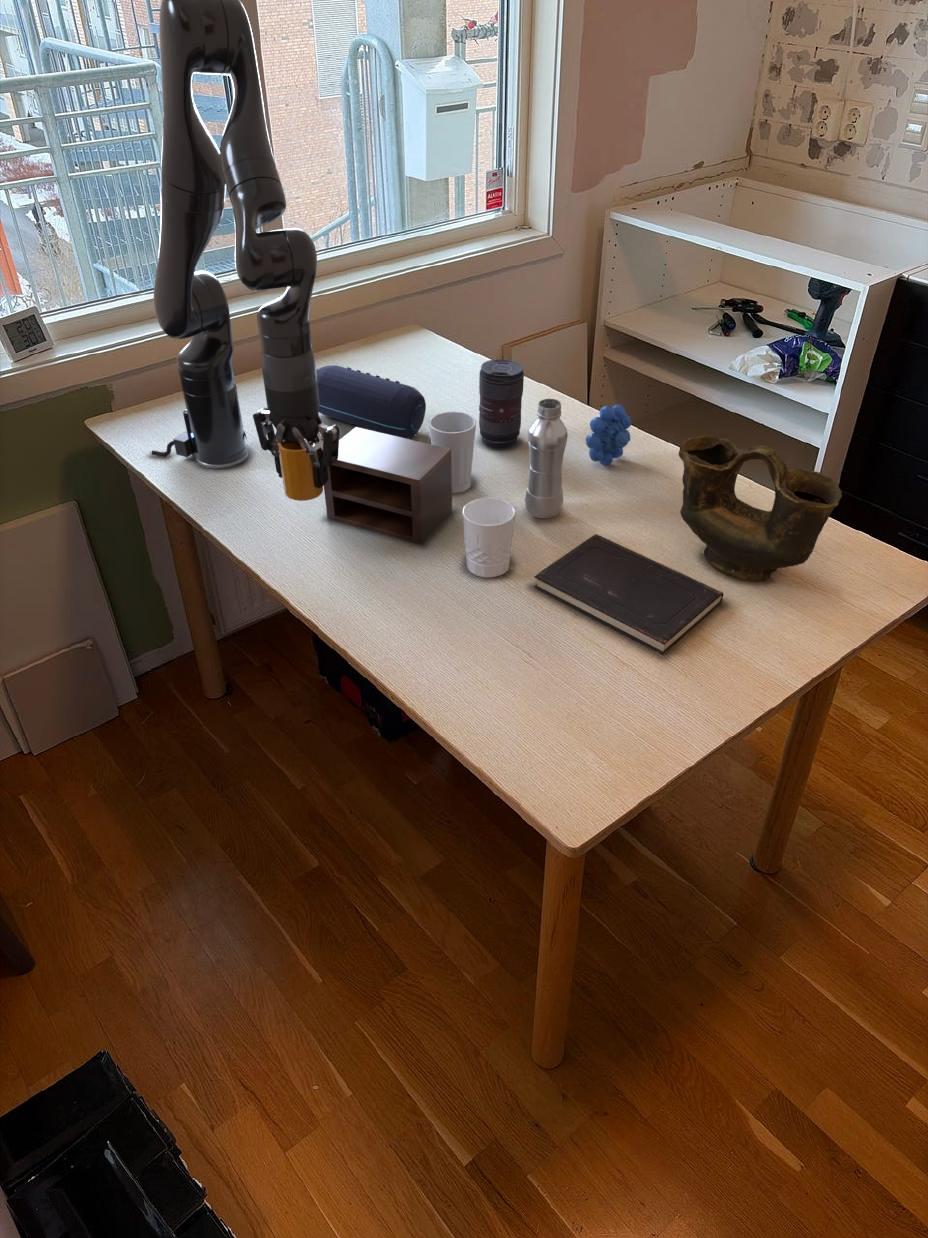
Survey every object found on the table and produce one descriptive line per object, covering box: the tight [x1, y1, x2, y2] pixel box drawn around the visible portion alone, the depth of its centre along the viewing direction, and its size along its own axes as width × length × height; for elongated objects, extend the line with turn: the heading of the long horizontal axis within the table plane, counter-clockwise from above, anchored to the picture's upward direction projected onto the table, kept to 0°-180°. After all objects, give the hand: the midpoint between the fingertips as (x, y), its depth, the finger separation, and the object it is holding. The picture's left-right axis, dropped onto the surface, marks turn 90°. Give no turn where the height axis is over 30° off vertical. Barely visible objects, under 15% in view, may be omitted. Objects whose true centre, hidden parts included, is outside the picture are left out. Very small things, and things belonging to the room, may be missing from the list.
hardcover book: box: [533, 533, 725, 656], centre depth 138 cm, size 16×23×2 cm
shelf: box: [323, 426, 453, 546], centre depth 152 cm, size 18×11×12 cm, turn 64°
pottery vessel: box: [678, 434, 843, 582], centre depth 139 cm, size 25×11×20 cm, turn 49°
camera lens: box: [478, 358, 525, 450], centre depth 171 cm, size 8×8×15 cm
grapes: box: [585, 403, 632, 466], centre depth 165 cm, size 12×7×12 cm, turn 133°
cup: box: [428, 411, 477, 494], centre depth 160 cm, size 8×8×12 cm
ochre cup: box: [278, 441, 324, 502], centre depth 140 cm, size 6×6×8 cm
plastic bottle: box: [524, 398, 569, 519], centre depth 150 cm, size 6×7×20 cm
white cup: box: [462, 497, 516, 578], centre depth 141 cm, size 8×8×10 cm
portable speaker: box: [316, 364, 427, 439], centre depth 178 cm, size 25×10×10 cm, turn 58°
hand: (302, 480), depth 142 cm, fingers closed on ochre cup, 6 cm apart
